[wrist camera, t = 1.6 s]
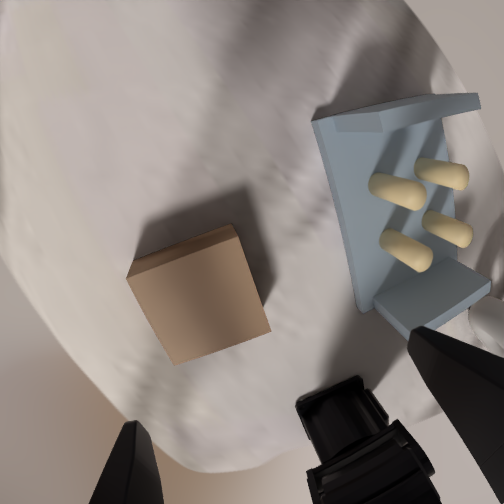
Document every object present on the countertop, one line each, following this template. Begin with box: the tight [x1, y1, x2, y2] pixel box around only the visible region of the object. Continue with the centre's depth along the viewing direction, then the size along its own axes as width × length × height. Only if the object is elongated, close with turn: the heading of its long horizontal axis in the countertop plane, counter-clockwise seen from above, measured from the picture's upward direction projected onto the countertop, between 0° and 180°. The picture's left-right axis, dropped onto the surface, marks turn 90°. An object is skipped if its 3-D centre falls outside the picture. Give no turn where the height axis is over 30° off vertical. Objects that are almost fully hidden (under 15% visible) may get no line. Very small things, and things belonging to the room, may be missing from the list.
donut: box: [468, 296, 504, 358], centre depth 23 cm, size 10×4×10 cm, turn 47°
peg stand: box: [311, 93, 491, 341], centre depth 18 cm, size 10×14×6 cm
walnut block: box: [126, 224, 271, 366], centre depth 19 cm, size 6×6×3 cm
